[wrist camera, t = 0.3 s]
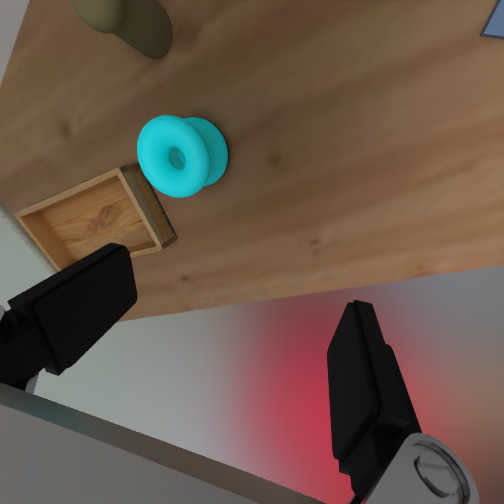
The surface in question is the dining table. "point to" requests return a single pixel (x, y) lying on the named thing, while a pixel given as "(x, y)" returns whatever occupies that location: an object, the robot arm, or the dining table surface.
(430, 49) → the dining table surface
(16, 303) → the robot arm
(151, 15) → the cork
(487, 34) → the board
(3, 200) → the dining table surface
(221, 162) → the donuts
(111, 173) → the tray
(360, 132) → the dining table surface
